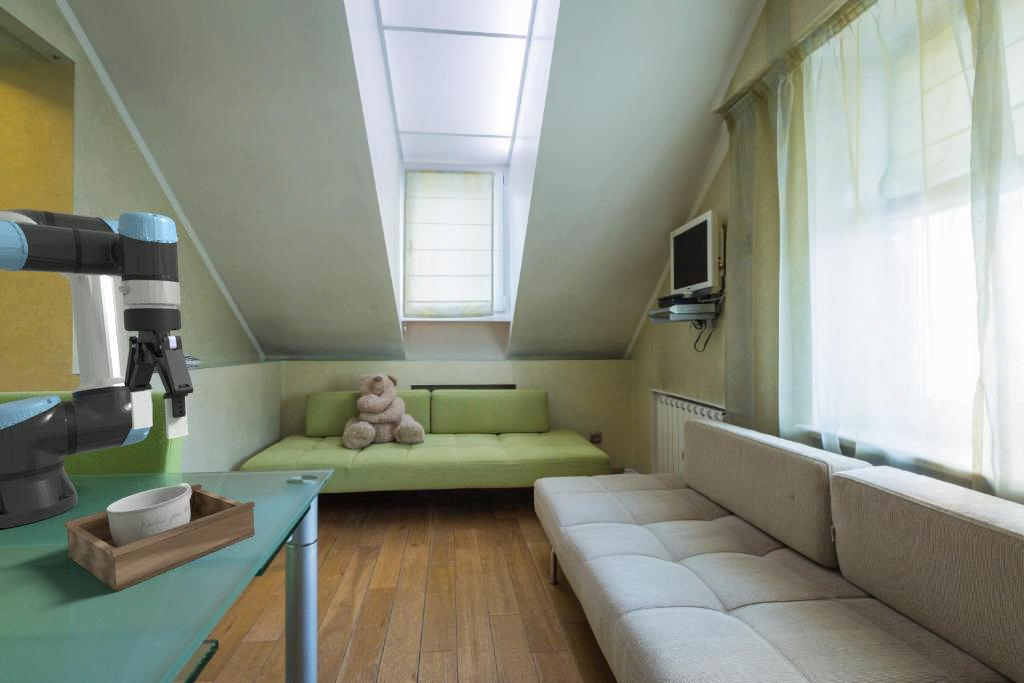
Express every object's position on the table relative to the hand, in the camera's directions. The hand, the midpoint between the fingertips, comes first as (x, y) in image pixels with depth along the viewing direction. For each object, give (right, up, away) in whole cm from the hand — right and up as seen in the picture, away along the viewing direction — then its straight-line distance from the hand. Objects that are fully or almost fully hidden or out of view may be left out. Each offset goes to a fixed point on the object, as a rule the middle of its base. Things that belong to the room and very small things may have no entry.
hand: (159, 432), depth 76 cm
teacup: (0, -19, +1) cm, 19 cm away
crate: (+1, -19, 0) cm, 19 cm away
